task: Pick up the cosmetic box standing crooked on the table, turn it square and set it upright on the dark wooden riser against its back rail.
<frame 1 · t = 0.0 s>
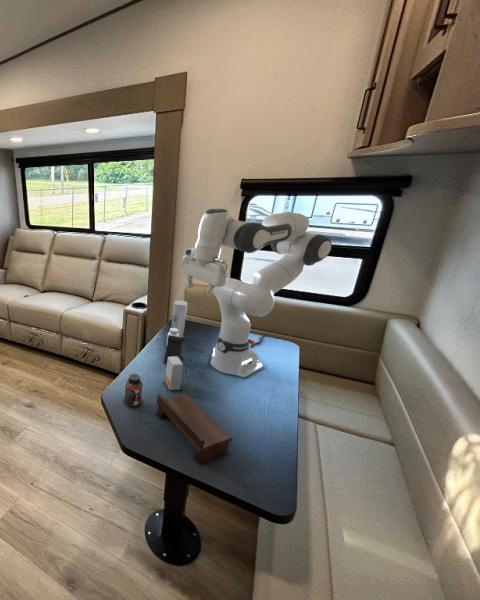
hand: (198, 290, 119), 39 cm above the table, tool pointing down, fingers open, 8 cm apart
spray can: (176, 338, 165), on the table
cosmetic box: (172, 386, 128), on the table
supplement bottle 2: (171, 347, 157), on the table
supplement bottle: (132, 402, 118), on the table
dark wooden riser: (189, 432, 104), on the table
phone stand: (172, 360, 146), on the table
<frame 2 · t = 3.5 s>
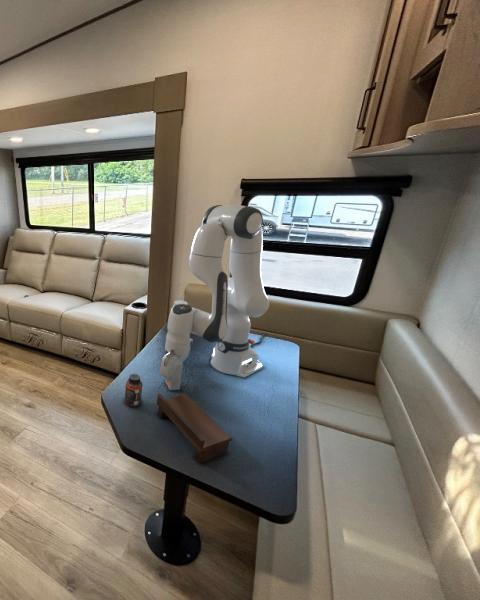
hand: (173, 375, 126), 5 cm above the table, tool pointing down, fingers closed on cosmetic box, 7 cm apart
cosmetic box: (172, 386, 128), on the table, touching gripper
everything else where it was.
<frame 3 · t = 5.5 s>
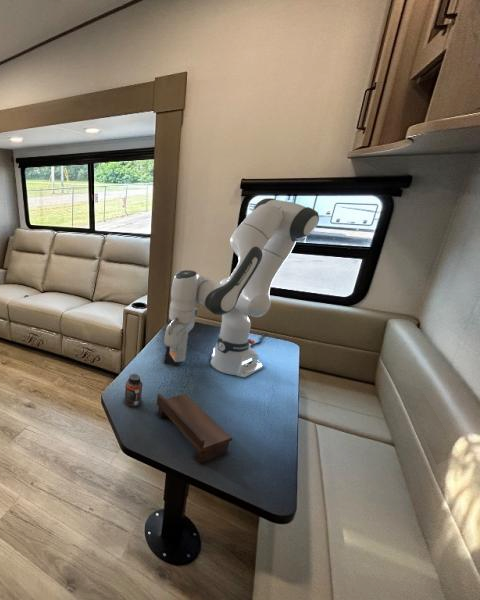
hand: (178, 346, 121), 18 cm above the table, tool pointing down, fingers closed on cosmetic box, 7 cm apart
cosmetic box: (177, 358, 123), point 13 cm above the table, touching gripper
everything else where it was.
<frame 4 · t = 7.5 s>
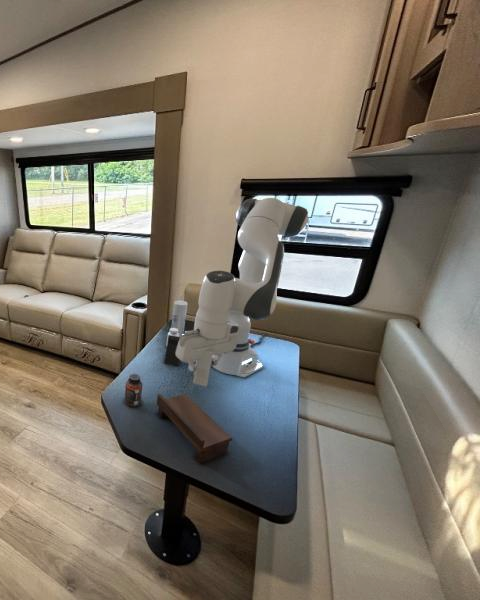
hand: (202, 367, 97), 25 cm above the table, tool pointing down, fingers closed on cosmetic box, 7 cm apart
cosmetic box: (200, 380, 98), point 20 cm above the table, touching gripper
everything else where it was.
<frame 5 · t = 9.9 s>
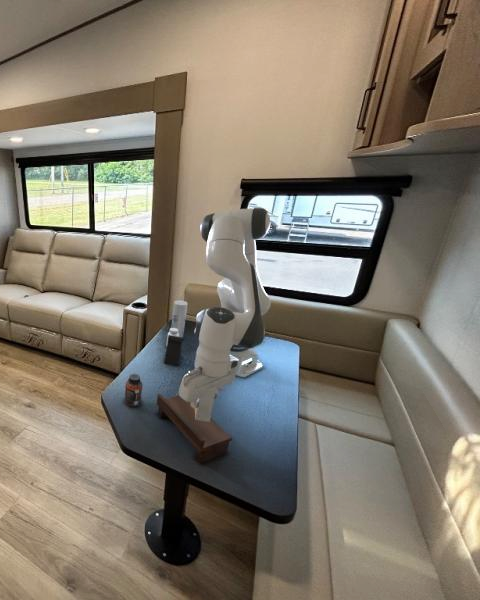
hand: (204, 402, 95), 15 cm above the table, tool pointing down, fingers closed on cosmetic box, 7 cm apart
cosmetic box: (201, 415, 97), point 10 cm above the table, touching gripper
everything else where it was.
when the fingers open (11 cm above the table, at t = 11.8 s): cosmetic box stays where it is, resting on dark wooden riser.
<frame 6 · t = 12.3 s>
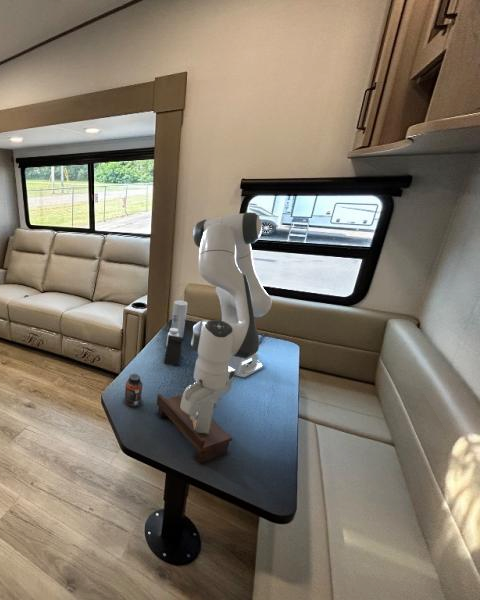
hand: (203, 412, 97), 11 cm above the table, tool pointing down, fingers open, 8 cm apart
cosmetic box: (199, 427, 99), point 6 cm above the table, touching dark wooden riser
everything else where it was.
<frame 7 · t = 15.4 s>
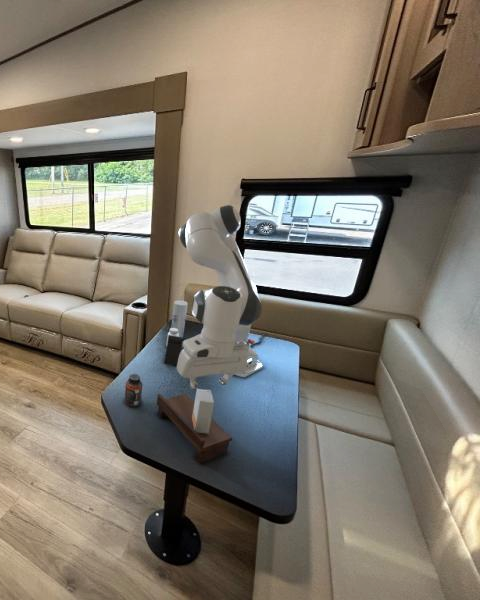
hand: (208, 385, 93), 22 cm above the table, tool pointing down, fingers open, 8 cm apart
nothing on the table moved.
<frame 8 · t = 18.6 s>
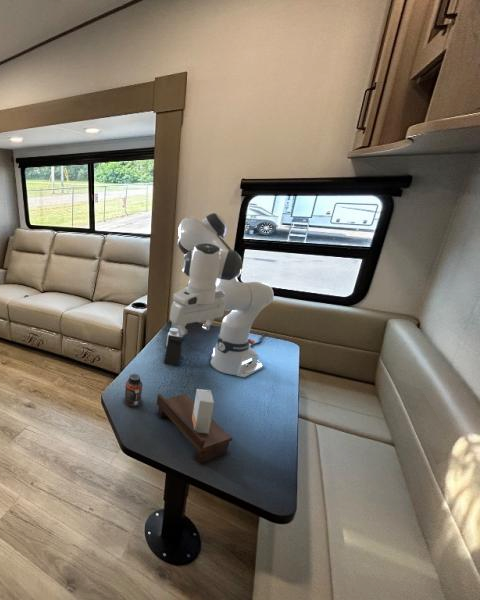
hand: (194, 331, 109), 29 cm above the table, tool pointing down, fingers open, 8 cm apart
nothing on the table moved.
at the end: cosmetic box inside the target area on the dark wooden riser (0.9 cm from its centre), point 5.8 cm above the dark wooden riser's base; cosmetic box tilted 0°; the gripper is holding nothing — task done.
